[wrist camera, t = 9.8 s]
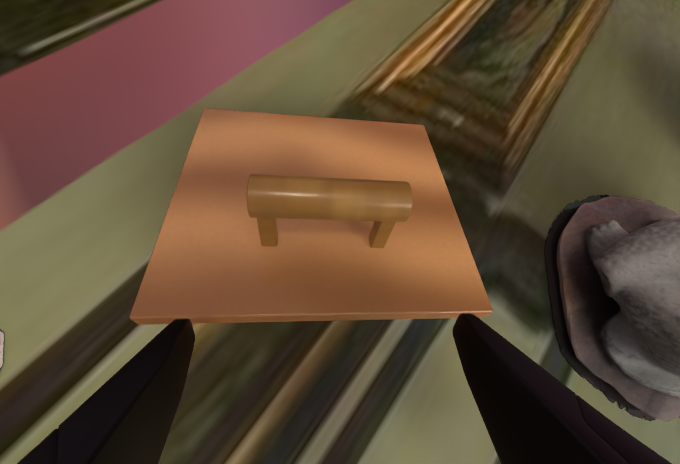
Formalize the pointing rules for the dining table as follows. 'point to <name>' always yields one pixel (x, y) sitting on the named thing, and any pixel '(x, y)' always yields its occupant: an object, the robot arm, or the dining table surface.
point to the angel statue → (619, 299)
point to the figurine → (1, 348)
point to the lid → (309, 226)
